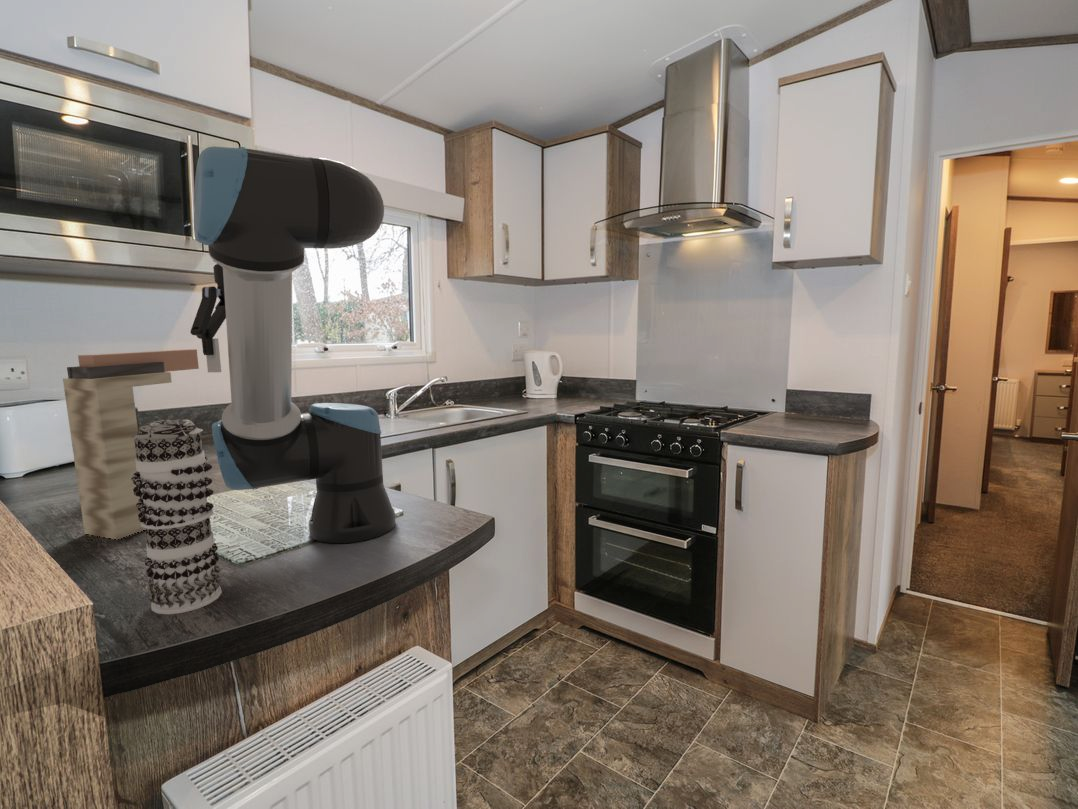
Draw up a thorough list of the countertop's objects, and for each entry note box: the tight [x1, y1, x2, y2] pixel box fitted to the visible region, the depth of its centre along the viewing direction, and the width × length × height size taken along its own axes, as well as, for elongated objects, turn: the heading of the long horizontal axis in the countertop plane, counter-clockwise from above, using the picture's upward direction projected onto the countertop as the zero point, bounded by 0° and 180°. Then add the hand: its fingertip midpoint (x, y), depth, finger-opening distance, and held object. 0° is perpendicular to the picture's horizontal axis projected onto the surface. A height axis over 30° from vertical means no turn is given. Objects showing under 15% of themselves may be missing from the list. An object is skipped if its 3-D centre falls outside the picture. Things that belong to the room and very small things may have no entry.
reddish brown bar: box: [77, 348, 200, 372], centre depth 111 cm, size 4×20×4 cm, turn 159°
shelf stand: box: [62, 362, 173, 541], centre depth 108 cm, size 9×14×31 cm, turn 159°
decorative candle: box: [131, 418, 223, 615], centre depth 78 cm, size 9×9×25 cm
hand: (244, 370), depth 118 cm, fingers open, 13 cm apart
